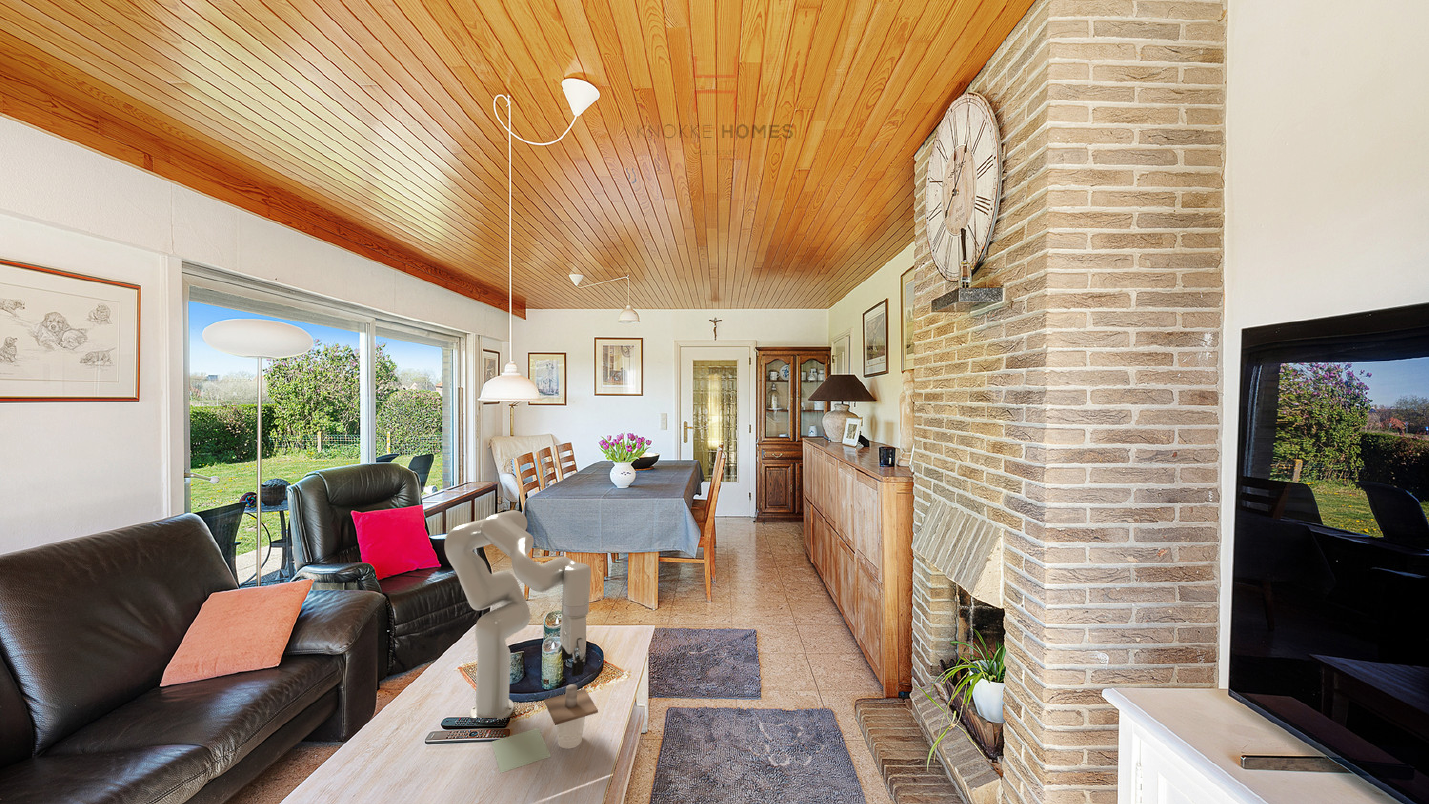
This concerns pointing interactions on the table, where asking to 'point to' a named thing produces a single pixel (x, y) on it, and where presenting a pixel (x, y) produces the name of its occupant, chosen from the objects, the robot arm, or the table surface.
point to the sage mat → (520, 750)
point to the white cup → (570, 733)
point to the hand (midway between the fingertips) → (572, 666)
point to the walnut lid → (570, 705)
